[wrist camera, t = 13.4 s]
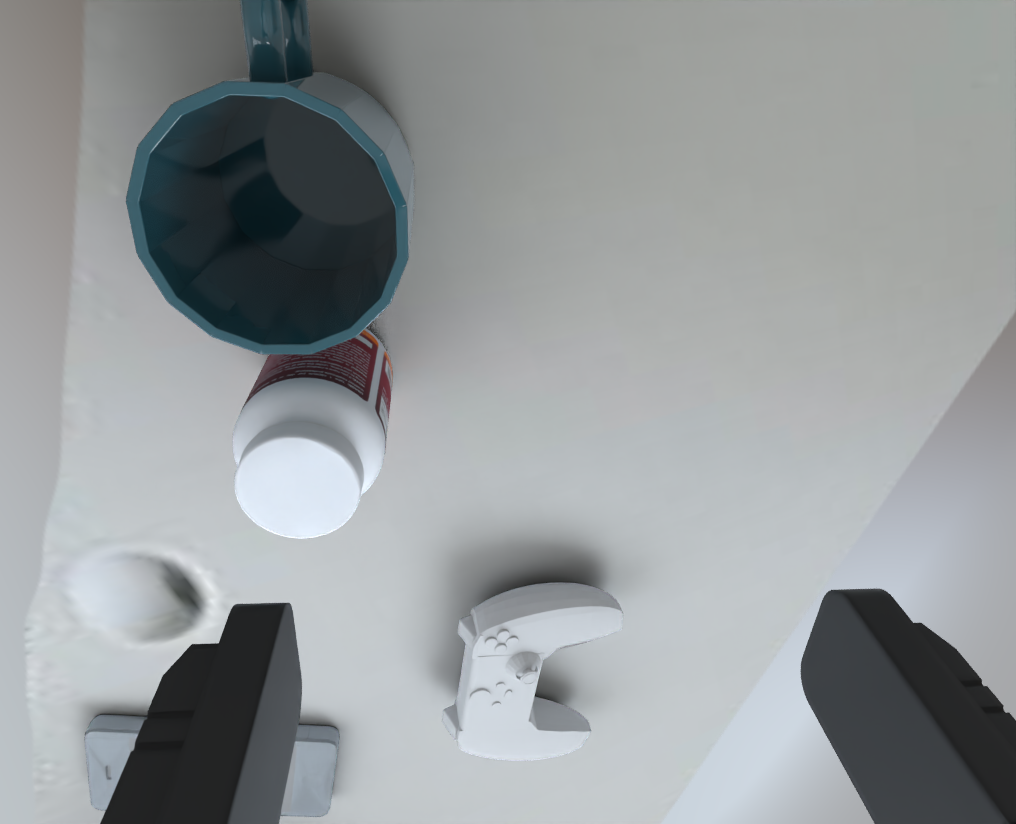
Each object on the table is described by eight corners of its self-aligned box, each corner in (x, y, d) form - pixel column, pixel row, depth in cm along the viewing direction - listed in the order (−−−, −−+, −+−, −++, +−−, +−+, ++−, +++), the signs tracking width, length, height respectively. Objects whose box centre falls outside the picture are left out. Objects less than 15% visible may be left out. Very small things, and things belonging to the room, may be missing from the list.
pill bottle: (244, 356, 35) (172, 474, 26) (341, 288, 34) (305, 384, 24) (325, 442, 38) (289, 579, 28) (418, 382, 37) (412, 502, 27)
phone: (330, 801, 52) (328, 818, 51) (97, 793, 49) (89, 811, 48) (341, 726, 48) (338, 742, 47) (90, 713, 45) (81, 730, 44)
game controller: (590, 766, 48) (448, 795, 44) (566, 713, 52) (434, 736, 48) (639, 607, 41) (478, 626, 38) (608, 558, 45) (458, 572, 42)
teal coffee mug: (416, 275, 34) (411, 354, 25) (229, 273, 33) (157, 355, 24) (410, -23, 28) (400, -54, 20) (184, -35, 28) (68, -73, 19)
